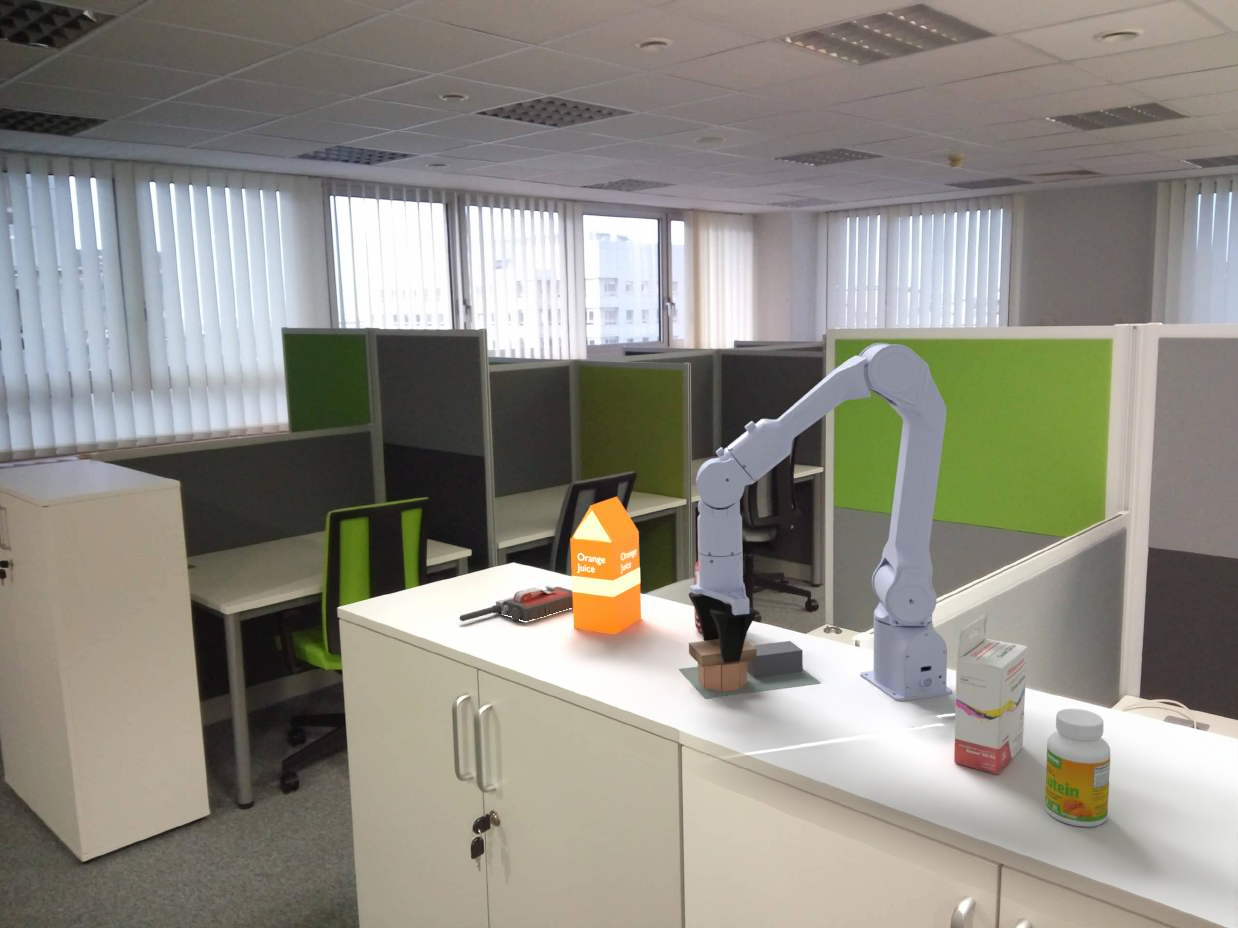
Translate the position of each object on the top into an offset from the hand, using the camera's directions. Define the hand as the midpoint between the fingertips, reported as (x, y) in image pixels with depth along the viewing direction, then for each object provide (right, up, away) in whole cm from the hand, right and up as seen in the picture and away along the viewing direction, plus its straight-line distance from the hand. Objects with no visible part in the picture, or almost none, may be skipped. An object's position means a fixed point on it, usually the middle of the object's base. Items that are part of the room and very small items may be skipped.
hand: (722, 652), depth 124 cm
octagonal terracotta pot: (0, -4, +1) cm, 4 cm away
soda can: (+2, -1, +22) cm, 22 cm away
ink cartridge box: (+27, -7, -22) cm, 35 cm away
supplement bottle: (+30, -9, -34) cm, 46 cm away
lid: (0, -1, 0) cm, 1 cm away
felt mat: (+4, -4, +3) cm, 6 cm away
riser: (+7, -3, +4) cm, 9 cm away
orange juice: (-15, -1, +28) cm, 32 cm away
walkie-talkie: (-30, -1, +34) cm, 45 cm away
